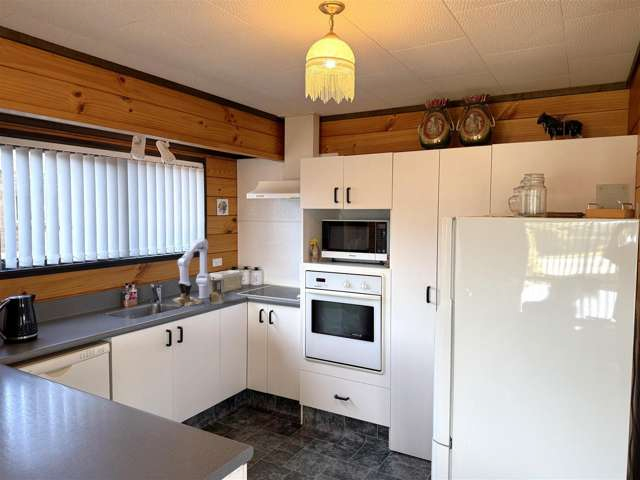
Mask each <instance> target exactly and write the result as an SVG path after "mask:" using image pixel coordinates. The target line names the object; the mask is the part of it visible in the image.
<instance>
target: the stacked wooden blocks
mask: <svg viewBox="0 0 640 480" xmlns="http://www.w3.org/2000/svg"><path fill="white" fill-rule="evenodd" d="M180 297H181V299H178V303H177V304H178V306H184V302H186V301H193V300H195V299H194V298H195V297H193V298H192V299H190V297H191V293H190V294H189V296H186V294H182V293H180Z"/></svg>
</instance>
